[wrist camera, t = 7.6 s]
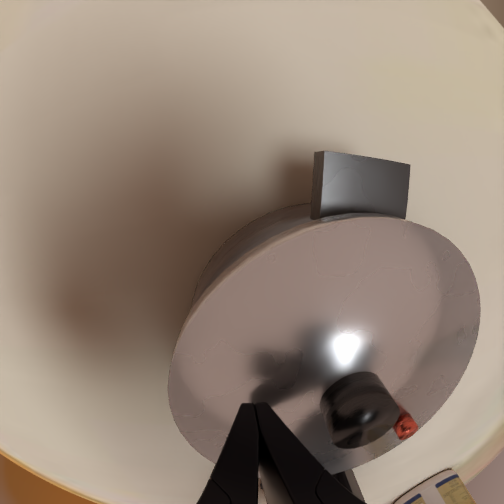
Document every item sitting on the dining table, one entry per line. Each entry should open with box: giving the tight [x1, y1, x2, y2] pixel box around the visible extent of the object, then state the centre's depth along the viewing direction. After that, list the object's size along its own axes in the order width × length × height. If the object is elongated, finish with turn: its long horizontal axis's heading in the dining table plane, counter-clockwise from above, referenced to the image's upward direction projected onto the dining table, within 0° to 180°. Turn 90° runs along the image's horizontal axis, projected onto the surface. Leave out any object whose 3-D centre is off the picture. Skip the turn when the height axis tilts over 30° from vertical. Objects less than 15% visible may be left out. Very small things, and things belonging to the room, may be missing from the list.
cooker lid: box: [168, 213, 480, 478], centre depth 9 cm, size 13×13×3 cm
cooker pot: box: [191, 151, 410, 309], centre depth 12 cm, size 13×14×4 cm
